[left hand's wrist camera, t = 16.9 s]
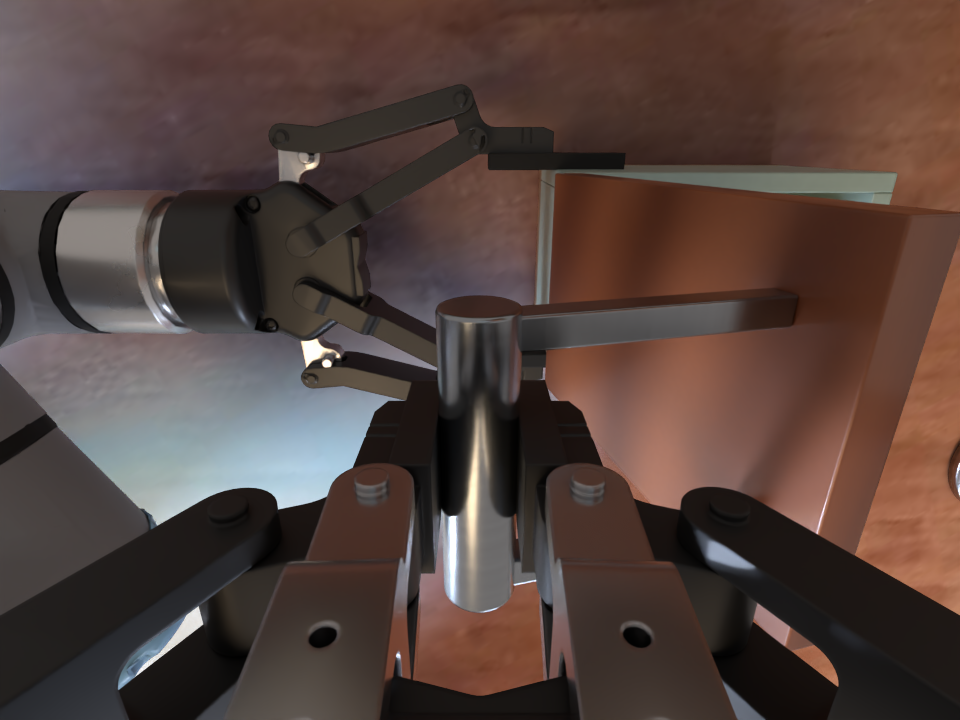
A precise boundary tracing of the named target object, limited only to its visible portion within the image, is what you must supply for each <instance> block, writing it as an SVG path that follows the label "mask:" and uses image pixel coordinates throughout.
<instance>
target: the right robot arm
mask: <svg viewBox="0 0 960 720" xmlns="http://www.w3.org/2000/svg"><path fill="white" fill-rule="evenodd" d="M451 119H454V120H455V123H456V126H457V129H458V132H459V135H457V136H456V137H454V138H452V139H451V140H449V141H447V142H445V143H444V144H442V145H440V146H439V147H437V148H435V149H434V150H432V151H430V152H429V153H427V154H425V155H424V156H422V157H420V158H419V159H417V160H415V161H414V162H412V163H410V164H409V165H407V166H405V167H404V168H402V169H400V170H399V171H397V172H395V173H394V174H392V175H390V176H389V177H387V178H385V179H384V180H382V181H380V182H379V183H377V184H375V185H374V186H372V187H370V188H369V189H367V190H365V191H364V192H362V193H360V194H358V195H357V196H355V197H353V198H351V199H350V200H348V201H346V202H344V203H343V204H341V205H339V206H338V205H337V204H335V203H334V202H332V201H331V200H329V199H328V198H327V197H325V196H324V195H322V194H321V193H319V192H318V191H317V190H315V189H314V188H312V187H311V186H309V185H308V184H307V183H305V176H306V174H307V173H308V172H309V171H310V170H313V169H318V168H320V167H321V166H322V165H323V164H324V162H325V153H334V152H341V151H345V150H349V149H353V148H356V147H359V146H363V145H366V144H370V143H373V142H376V141H380V140H383V139H387V138H390V137H394V136H397V135H400V134H404V133H407V132H411V131H414V130H417V129H421V128H424V127H428V126H431V125H434V124H438V123H441V122H445V121H448V120H451ZM269 140H270V142H271V144H272V145H273V146H274V147H275V148H276V149H278V161H279V182H277V183H275V184H274V185H272V186H271V187H269V188H267V189H264V190H187V191H184V192H182V193H181V194H179V193H176V192H174V191H172V190H91V191H77V192H49V191H4V190H0V348H2V347H5V346H7V345H10V344H12V343H14V342H17V341H19V340H21V339H24V338H27V337H31V336H36V335H41V334H74V333H166V334H183V333H188V332H191V331H193V330H194V331H197V332H199V333H282V334H285V335H288V336H290V337H292V338H294V339H296V340H299V341H301V346H302V350H303V355H304V359H305V363H306V369H305V370H304V371H303V373H302V375H301V380H302V382H303V384H304V385H305V386H307V387H309V388H325V387H337V386H346V387H350V388H354V389H359V390H363V391H367V392H371V393H376V394H380V395H384V396H388V397H393V398H397V399H401V400H406V399H407V396H408V392H409V389H410V385H411V382H412V380H438V374H437V371H435V370H431V369H427V368H423V367H418V366H414V365H410V364H406V363H402V362H398V361H394V360H389V359H385V358H381V357H377V356H373V355H369V354H365V353H359V352H350V351H344V350H343V348H342V347H341V346H340V345H338V344H333V343H329V342H327V341H326V340H325V339H324V338H323V335H322V334H324V333H325V332H326V331H328V330H329V329H330V328H332V327H333V326H334V325H336V324H337V323H340V324H342V325H344V326H346V327H348V328H350V329H352V330H354V331H356V332H358V333H360V334H364V335H372V336H374V337H376V338H378V339H380V340H382V341H384V342H386V343H388V344H390V345H392V346H394V347H396V348H398V349H400V350H402V351H405V352H407V353H409V354H411V355H413V356H415V357H417V358H419V359H421V360H423V361H425V362H427V363H429V364H431V365H433V366H435V367H437V343H436V329H435V328H433V327H432V326H430V325H428V324H426V323H424V322H422V321H420V320H418V319H416V318H414V317H412V316H410V315H408V314H406V313H404V312H402V311H400V310H398V309H396V308H394V307H392V306H390V305H388V304H387V303H386V302H385V301H384V300H383V299H382V298H380V297H378V296H377V295H375V294H373V293H371V292H369V291H368V290H369V289H370V287H371V283H370V273H369V270H368V267H367V264H366V261H365V256H366V251H367V245H368V244H367V232H366V231H364V230H363V228H362V226H361V224H360V223H362V222H364V221H365V220H367V219H369V218H370V217H372V216H374V215H375V214H377V213H379V212H381V211H382V210H384V209H386V208H387V207H389V206H391V205H392V204H394V203H396V202H398V201H399V200H401V199H403V198H404V197H406V196H408V195H410V194H411V193H413V192H415V191H416V190H418V189H420V188H421V187H423V186H425V185H427V184H428V183H430V182H432V181H433V180H435V179H437V178H438V177H440V176H442V175H444V174H445V173H447V172H449V171H450V170H452V169H454V168H456V167H457V166H459V165H461V164H462V163H464V162H466V161H467V160H469V159H471V158H473V157H474V156H476V155H478V154H488V169H489V170H558V169H624V165H625V154H626V153H553V141H554V132H553V131H551V130H549V129H547V128H544V127H491V126H488V125H487V124H485V123H484V122H483V120H482V119H481V117H480V115H479V112H478V109H477V106H476V103H475V100H474V97H473V94H472V91H471V90H470V89H469V88H468V87H467V86H465V85H462V84H461V85H455V86H451V87H448V88H445V89H441V90H438V91H435V92H431V93H428V94H425V95H421V96H418V97H415V98H411V99H408V100H405V101H401V102H398V103H395V104H391V105H388V106H384V107H381V108H378V109H374V110H371V111H368V112H364V113H361V114H358V115H354V116H351V117H348V118H344V119H341V120H338V121H334V122H331V123H328V124H324V125H321V126H318V127H314V126H303V125H293V124H282V123H279V124H275V125H273V126H272V127H271V129H270V130H269ZM543 367H546V350H544V351H533V352H522V357H521V380H540V379H542V376H543ZM156 526H157V525H156V522H155V521H154V519H153V517H152V515H150V514H149V513H147V512H146V511H145V510H144V509H139V508H138V507H137V506H136V505H135V504H134V503H133V502H132V501H131V500H130V499H129V498H128V497H127V496H126V495H125V494H124V493H123V492H122V491H121V490H120V489H119V488H118V487H117V486H116V485H115V484H114V483H113V482H112V481H111V480H110V479H109V478H108V477H107V476H106V475H105V474H104V473H103V472H102V471H101V470H100V469H99V468H98V467H97V466H96V465H95V464H94V463H93V462H92V461H91V460H90V459H89V458H88V457H87V456H86V455H85V454H84V453H83V452H82V451H81V450H80V449H79V448H78V447H77V446H76V445H75V444H74V443H73V442H72V441H71V440H70V439H69V438H68V437H67V436H66V435H65V434H64V433H63V432H62V431H61V430H60V429H59V428H58V427H57V425H56V423H55V422H54V421H53V420H52V419H51V418H50V417H49V416H48V415H47V414H46V412H45V411H44V409H43V408H42V407H41V406H40V405H39V404H38V403H37V402H36V401H35V400H34V399H33V398H32V397H31V396H30V395H29V394H28V393H27V392H26V391H25V390H24V389H23V387H22V386H21V385H20V384H19V383H18V382H17V381H16V380H15V379H14V378H13V377H12V376H11V375H10V374H9V373H8V372H7V371H6V370H5V369H4V368H3V367H2V365H1V364H0V615H2V614H3V613H5V612H7V611H9V610H11V609H12V608H14V607H16V606H18V605H19V604H21V603H23V602H25V601H26V600H28V599H30V598H32V597H33V596H35V595H37V594H39V593H40V592H42V591H44V590H46V589H47V588H49V587H51V586H53V585H54V584H56V583H58V582H60V581H61V580H63V579H65V578H67V577H68V576H70V575H72V574H74V573H75V572H77V571H79V570H81V569H83V568H84V567H86V566H88V565H90V564H91V563H93V562H95V561H97V560H98V559H100V558H102V557H104V556H105V555H107V554H109V553H111V552H112V551H114V550H116V549H118V548H119V547H121V546H123V545H125V544H126V543H128V542H130V541H132V540H133V539H135V538H137V537H139V536H140V535H142V534H144V533H146V532H147V531H149V530H151V529H153V528H154V527H156ZM185 617H186V616H184V617H183V618H182V619H180V620H179V621H177V622H176V623H175V624H173V625H172V626H171V627H169V628H168V629H167V630H165V631H164V632H162V633H161V634H160V635H158V636H157V637H156V638H154V639H153V640H152V641H150V642H149V643H148V644H146V645H145V646H143V647H142V648H141V649H140V650H138V651H137V652H136V653H135V654H134V655H133V656H132V657H131V659H130V660H129V661H128V662H127V664H126V665H125V667H124V669H123V670H122V672H121V675H120V677H119V682H118V690H119V689H120V688H122V687H123V686H124V685H126V684H127V683H128V682H129V681H131V680H132V679H133V678H134V677H135V676H136V674H137V672H138V671H139V669H140V668H141V667H142V666H143V665H144V664H145V663H146V662H147V661H148V660H149V659H151V658H152V657H154V656H155V655H157V654H158V653H159V652H160V651H161V650H162V649H163V648H164V647H165V645H166V644H167V643H168V642H169V640H170V639H171V638H172V637H173V635H174V634H175V632H176V631H177V629H178V628H179V627H180V625H181V623H182V622H183V620H184V619H185Z"/></svg>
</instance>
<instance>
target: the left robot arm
mask: <svg viewBox="0 0 960 720" xmlns="http://www.w3.org/2000/svg"><path fill="white" fill-rule="evenodd" d="M948 480H949V485H950V488H951V490H952V492H953V494H954V495H955V497H956V498H957V499H958V500H959V501H960V445H959V446H958V448H957V449H956V451H955V453H954V455H953V457H952V460H951V462H950V466H949V472H948ZM441 510H442V499H441V468H440V437H439V405H438V380H412V382H411V385H410V389H409V392H408V396H407V399H406V401H388V402H387V403H385V404H384V405H383V406H382V407H380V408H379V409H378V410H376V411H375V413H374V415H373V418H372V421H371V423H370V427H369V428H368V431H367V433H366V437H365V438H364V441H363V443H362V446H361V448H360V451H359V453H358V456H357V458H356V461H355V464H354V466H353V468H352V469H349V470H347V471H345V472H344V473H342V474H341V475H340V476H338V477H337V478H336V479H335V480H334V482H333V483H332V485H331V487H330V490H329V493H328V496H327V497H325V498H323V499H320V500H318V501H315V502H312V503H308V504H303V505H299V506H294V507H289V508H284V509H279V510H278V506H277V501H276V499H275V497H274V496H273V495H272V494H271V493H269V492H267V491H265V490H262V489H257V488H238V489H232V490H227V491H223V492H220V493H217V494H215V495H212V496H210V497H208V498H206V499H204V500H202V501H200V502H198V503H197V504H195V505H193V506H191V507H190V508H188V509H186V510H184V511H183V512H181V513H179V514H177V515H176V516H174V517H172V518H170V519H169V520H167V521H165V522H163V523H162V524H160V525H158V526H156V527H154V528H153V529H151V530H149V531H147V532H146V533H144V534H142V535H140V536H139V537H137V538H135V539H133V540H132V541H130V542H128V543H126V544H125V545H123V546H121V547H119V548H118V549H116V550H114V551H112V552H111V553H109V554H107V555H105V556H104V557H102V558H100V559H98V560H97V561H95V562H93V563H91V564H90V565H88V566H86V567H84V568H83V569H81V570H79V571H77V572H75V573H74V574H72V575H70V576H68V577H67V578H65V579H63V580H61V581H60V582H58V583H56V584H54V585H53V586H51V587H49V588H47V589H46V590H44V591H42V592H40V593H39V594H37V595H35V596H33V597H32V598H30V599H28V600H26V601H25V602H23V603H21V604H19V605H18V606H16V607H14V608H12V609H11V610H9V611H7V612H5V613H3V614H2V615H0V720H960V615H958V614H956V613H955V612H953V611H951V610H949V609H948V608H946V607H944V606H942V605H941V604H939V603H937V602H935V601H934V600H932V599H930V598H928V597H927V596H925V595H923V594H921V593H920V592H918V591H916V590H914V589H913V588H911V587H909V586H907V585H906V584H904V583H902V582H900V581H899V580H897V579H895V578H893V577H892V576H890V575H888V574H886V573H885V572H883V571H881V570H879V569H877V568H876V567H874V566H872V565H870V564H869V563H867V562H865V561H863V560H862V559H860V558H858V557H856V556H855V555H853V554H851V553H849V552H848V551H846V550H844V549H842V548H841V547H839V546H837V545H835V544H834V543H832V542H830V541H828V540H827V539H825V538H823V537H821V536H820V535H818V534H816V533H814V532H813V531H811V530H809V529H807V528H805V527H804V526H802V525H800V524H798V523H797V522H795V521H793V520H791V519H790V518H788V517H786V516H784V515H783V514H781V513H779V512H777V511H776V510H774V509H772V508H770V507H769V506H767V505H765V504H763V503H762V502H760V501H758V500H756V499H754V498H753V497H751V496H749V495H746V494H744V493H741V492H738V491H735V490H732V489H727V488H721V487H700V488H696V489H693V490H690V491H689V492H687V493H686V494H685V495H684V496H683V498H682V500H681V505H680V510H678V509H673V508H668V507H663V506H658V505H653V504H649V503H645V502H642V501H639V500H636V499H634V498H633V496H632V493H631V490H630V487H629V485H628V483H627V482H626V480H625V479H624V478H623V477H622V476H620V475H619V474H618V473H616V472H615V471H613V470H611V469H608V468H606V467H603V465H602V462H601V459H600V457H599V454H598V452H597V449H596V446H595V444H594V441H593V439H592V437H591V433H590V431H589V428H588V427H587V423H586V420H585V418H584V415H583V413H582V411H581V410H579V409H578V408H577V407H576V406H574V405H573V404H572V403H571V402H569V401H551V399H550V396H549V392H548V388H547V385H546V381H545V380H521V390H520V415H519V428H518V461H517V494H516V520H517V530H518V540H519V550H520V561H521V571H522V573H535V575H536V583H537V589H538V592H539V594H540V605H539V611H540V627H541V642H542V658H543V673H544V681H541V682H537V683H533V684H529V685H525V686H521V687H517V688H513V689H510V690H506V691H502V692H498V693H494V694H490V695H485V696H475V695H470V694H466V693H462V692H458V691H454V690H450V689H447V688H443V687H439V686H435V685H431V684H427V683H423V682H419V681H416V674H417V658H418V643H419V627H420V612H421V605H420V586H419V585H420V577H421V573H435V567H436V558H437V548H438V539H439V529H440V520H441ZM757 603H758V604H759V605H761V606H762V607H763V608H765V609H766V610H768V611H769V612H770V613H772V614H773V615H774V616H776V617H777V618H778V619H780V620H781V621H783V622H784V623H785V624H787V625H788V626H789V627H791V628H792V629H793V630H795V631H796V632H797V633H799V634H800V635H802V636H803V637H804V638H806V639H807V640H808V641H810V642H811V643H812V644H814V645H815V646H816V647H818V648H819V649H820V650H821V651H822V652H823V653H824V654H825V655H826V656H827V658H828V659H829V660H830V662H831V663H832V665H833V667H834V669H835V671H836V673H837V676H838V681H839V686H838V687H837V686H836V685H834V684H833V683H832V682H831V681H829V680H828V679H827V678H825V677H824V676H823V675H821V674H820V673H819V672H818V671H816V670H815V669H814V668H812V667H811V666H810V665H808V664H807V663H806V662H805V661H803V660H802V659H801V658H799V657H798V656H797V655H796V654H794V653H793V652H792V651H790V650H789V649H788V648H786V647H785V646H784V645H783V644H781V643H780V642H779V641H777V640H776V639H775V638H773V637H772V636H771V635H770V634H768V633H767V632H766V631H764V630H763V629H762V628H760V627H759V626H758V625H757V624H755V623H754V622H753V619H754V615H755V611H756V607H757ZM198 606H199V609H200V613H201V616H202V620H203V625H202V626H201V627H200V628H198V629H197V630H196V631H194V632H193V633H192V634H190V635H189V636H188V637H187V638H185V639H184V640H183V641H181V642H180V643H179V644H177V645H176V646H175V647H174V648H172V649H171V650H170V651H168V652H167V653H166V654H164V655H163V656H162V657H161V658H159V659H158V660H157V661H155V662H154V663H153V664H152V665H150V666H149V667H148V668H146V669H145V670H144V671H142V672H141V673H140V674H139V675H137V676H136V677H135V678H133V679H132V680H131V681H129V682H128V683H127V684H126V685H124V686H123V687H122V688H120V689H119V690H118V682H119V677H120V675H121V672H122V670H123V669H124V667H125V665H126V664H127V662H128V661H129V660H130V659H131V657H132V656H133V655H134V654H135V653H136V652H137V651H138V650H140V649H141V648H142V647H143V646H145V645H146V644H148V643H149V642H150V641H152V640H153V639H154V638H156V637H157V636H158V635H160V634H161V633H162V632H164V631H165V630H167V629H168V628H169V627H171V626H172V625H173V624H175V623H176V622H177V621H179V620H180V619H182V618H183V617H184V616H186V615H187V614H188V613H190V612H191V611H192V610H194V609H195V608H196V607H198Z"/></svg>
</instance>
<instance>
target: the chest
mask: <svg viewBox="0 0 960 720" xmlns="http://www.w3.org/2000/svg"><path fill="white" fill-rule="evenodd" d="M556 173H586V174H596V175H605V176H615V177H625V178H634V179H644V180H654V181H663V182H673V183H683V184H692V185H702V186H712V187H721V188H731V189H741V190H750V191H760V192H770V193H779V194H789V195H799V196H808V197H818V198H828V199H837V200H847V201H857V202H866V203H876V204H886V205H889V204H890V200H891V197H892V193H891V192H893V189H894V185H895V181H896V178H897V173H896V172H882V171H866V170H849V169H832V168H816V167H799V166H783V165H624V169H558V170H539V190H538V215H537V241H536V267H535V293H534V305H540V304H549V291H550V271H551V251H552V230H553V210H554V190H555V174H556ZM546 352H547V350H546Z"/></svg>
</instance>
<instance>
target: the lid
mask: <svg viewBox="0 0 960 720" xmlns="http://www.w3.org/2000/svg"><path fill="white" fill-rule="evenodd" d="M959 236H960V212H953V211H944V210H934V209H924V208H915V207H905V206H895V205H886V204H876V203H866V202H857V201H847V200H837V199H828V198H818V197H808V196H799V195H789V194H779V193H770V192H760V191H750V190H741V189H731V188H721V187H712V186H702V185H692V184H683V183H673V182H663V181H654V180H644V179H634V178H625V177H615V176H605V175H596V174H586V173H556V174H555V190H554V210H553V230H552V251H551V271H550V291H549V304H540V305H526V306H521V305H520V304H519V303H517V302H515V301H512V300H509V299H506V298H502V297H495V296H480V295H479V296H463V297H457V298H453V299H449V300H446V301H444V302H442V303H440V304H439V305H438V306H437V308H436V343H437V374H438V405H439V437H440V468H441V499H442V530H443V562H444V587H445V592H446V594H447V596H448V597H449V599H450V600H451V601H452V602H453V603H454V604H455V605H456V606H457V607H459V608H461V609H463V610H466V611H469V612H476V613H483V612H489V611H493V610H495V609H498V608H500V607H501V606H503V605H504V604H505V603H506V602H507V601H508V600H509V598H510V597H511V595H512V593H513V591H514V585H519V584H524V583H529V582H534V581H536V575H535V573H522V571H521V561H520V550H519V540H518V539H516V494H517V461H518V428H519V415H520V390H521V357H522V352H533V351H544V350H547V352H546V372H545V381H546V385H547V388H548V389H549V390H550V392H551V393H552V394H553V395H554V396H555V397H556V398H557V399H558V400H559V401H569V402H571V403H572V404H573V405H574V406H576V407H577V408H578V409H579V410H581V411H582V413H583V415H584V418H585V420H586V423H587V427H588V428H589V431H590V433H591V437H592V439H593V440H594V441H595V442H596V443H597V444H598V445H599V446H600V448H601V449H602V450H603V451H604V452H605V453H606V454H607V455H608V456H609V458H610V459H611V460H612V461H613V462H614V463H615V464H616V465H617V467H618V468H619V469H620V470H621V471H622V472H623V473H624V474H625V476H626V477H627V478H628V479H629V480H630V481H631V482H632V483H633V484H634V486H635V487H636V488H637V489H638V490H639V491H640V492H641V493H642V495H643V496H644V497H645V498H646V499H647V500H648V501H649V502H650V503H651V504H653V505H658V506H663V507H668V508H673V509H678V510H680V505H681V500H682V498H683V496H684V495H685V494H686V493H687V492H689V491H690V490H693V489H696V488H700V487H721V488H727V489H732V490H735V491H738V492H741V493H744V494H746V495H749V496H751V497H753V498H754V499H756V500H758V501H760V502H762V503H763V504H765V505H767V506H769V507H770V508H772V509H774V510H776V511H777V512H779V513H781V514H783V515H784V516H786V517H788V518H790V519H791V520H793V521H795V522H797V523H798V524H800V525H802V526H804V527H805V528H807V529H809V530H811V531H813V532H814V533H816V534H818V535H820V536H821V537H823V538H825V539H827V540H828V541H830V542H832V543H834V544H835V545H837V546H839V547H841V548H842V549H844V550H846V551H848V552H849V553H851V554H853V555H855V553H856V550H857V547H858V544H859V541H860V538H861V535H862V532H863V529H864V526H865V523H866V520H867V517H868V514H869V511H870V508H871V504H872V501H873V498H874V495H875V492H876V489H877V486H878V483H879V480H880V477H881V474H882V471H883V468H884V465H885V462H886V459H887V456H888V453H889V450H890V447H891V444H892V440H893V437H894V434H895V431H896V428H897V425H898V422H899V419H900V416H901V413H902V410H903V407H904V404H905V401H906V398H907V395H908V392H909V389H910V386H911V383H912V379H913V376H914V373H915V370H916V367H917V364H918V361H919V358H920V355H921V352H922V349H923V346H924V343H925V340H926V337H927V334H928V331H929V328H930V325H931V322H932V319H933V315H934V312H935V309H936V306H937V303H938V300H939V297H940V294H941V291H942V288H943V285H944V282H945V279H946V276H947V273H948V270H949V267H950V264H951V261H952V258H953V254H954V251H955V248H956V245H957V242H958V239H959ZM754 620H755V621H756V622H757V623H758V624H759V626H760V627H761V628H762V629H763V630H764V631H766V632H767V633H768V634H770V635H771V636H772V637H773V638H775V639H776V640H777V641H779V642H780V643H781V644H783V645H784V646H785V647H786V648H788V649H789V650H790V651H793V650H797V649H801V648H805V647H809V646H812V645H814V644H812V643H811V642H810V641H808V640H807V639H806V638H804V637H803V636H802V635H800V634H799V633H797V632H796V631H795V630H793V629H792V628H791V627H789V626H788V625H787V624H785V623H784V622H783V621H781V620H780V619H778V618H777V617H776V616H774V615H773V614H772V613H770V612H769V611H768V610H766V609H765V608H763V607H762V606H761V605H759V604H758V603H757V607H756V611H755V615H754Z"/></svg>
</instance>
